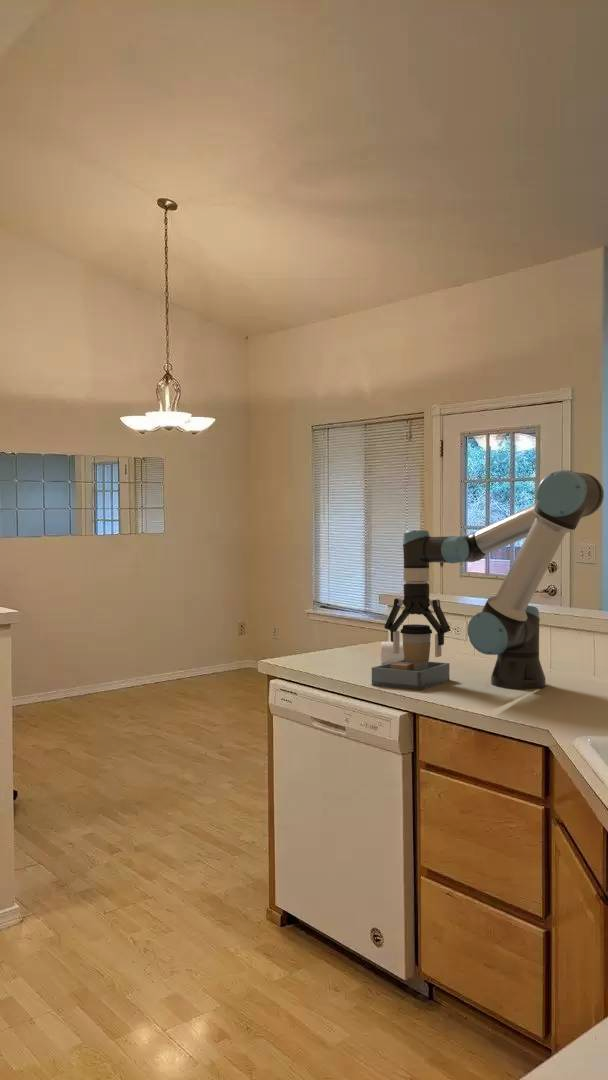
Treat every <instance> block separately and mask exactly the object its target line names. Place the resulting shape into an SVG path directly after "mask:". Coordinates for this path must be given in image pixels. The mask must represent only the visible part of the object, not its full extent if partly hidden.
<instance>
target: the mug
mask: <svg viewBox="0 0 608 1080" xmlns="http://www.w3.org/2000/svg"><path fill="white" fill-rule="evenodd" d="M403 659H404V651H403V641H400V653H397V654H393V642H391V641H382V642H381V646H380V665H383V664H387V663H391V662H395V661H399V660H403Z"/></svg>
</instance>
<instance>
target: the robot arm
mask: <svg viewBox="0 0 608 1080" xmlns="http://www.w3.org/2000/svg"><path fill="white" fill-rule="evenodd" d="M604 496H605V493H604V488H603V486H602V483H601V482H600V481H599V480H598V479H597V478H596V477H595V476H593V475H591V474H589V473H585V472H576V471H573V470H568V469H566V470H565V469H564V470H558V471H554V472H550V473H549V474H547V475H546V476H545V477H543V478H542V480H541V481H540V482H539V484H538V486H537V488H536V494H535V497H536V503H534V504H532V505H529V506H528V507H526V508H524V509H521V510H519V511H517V512H515V513H513V514H510V515H509V516H506V517H505V518H501V519H499V520H498V521H496V522H493V523H491V524H489V525H487V526H484V527H482V528H481V529H478V530H476V531H474V532H471V533H469V534H467V535H463V536H460V535H459V536H457V535H450V536H430V532H429V531H428V530H426V529H425V530H424V529H419V530H417V529H415V530H414V529H413V530H406V531H404V532H403V542H402V543H403V544H402V548H403V549H402V550H403V551H402V552H403V579H402V580H403V582H405V583H404V584H403V598H400V597H399V598H394V600H393V606H392V608H391V611H390V612H389V615H388V617H387V620H386V622H385V624H384V629H385V630H388V631H390V642H393V654H397V653H400V642H401V641H400V640H401V639H400V632H401V631H400V630H399V628H400V626H401V625H402V624H403V623H404V621H406V619H407V618H408V616H410V615H419V616H420V615H421V616H423V617H425V618H426V620H427V621H428V622H429V624H430V625H431V626H432V628H433V629H434V630H435V632H436V633H435V634H434V657H435V658H439V657H442V646H444V645H445V634H447V633H449V632H451V628H450V625H449V622H448V620H447V618H446V617H445V616H446V615H445V614H444V612H443V609H442V607H441V603H440V602H441V601H440V599H433V600H430V583H428V582H429V581H430V563H439V564H441V563H443V564H444V563H447V564H457V563H458V564H459V563H460V564H461V563H467V562H468V563H475V562H477V561H480V560H482V559H484V558H485V556H487V555H488V554H491V553H493V552H495V551H499V550H500V549H503V548H505V547H507V546H509V545H512V544H514V543H517V542H519V541H521V540H523V539H524V541H523V543H522V544H521V547H520V549H519V550H518V552H517V554H516V556H515V559H514V560H513V562H512V564H511V566H510V568H509V570H508V571H507V574H506V576H505V577H504V579H503V581H502V583H501V585H500V587H499V589H498V591H497V593H496V595H494V596H491V597H488V598H487V599H486V602H485V604H484V606H483V608H482V610H481V611H480V612H477V613H476V614H474V615H473V616H472V617H471V618H470V620H469V622H468V625H467V636H468V639H469V642H470V644H471V646H472V647H473V648H474V649H475V650H476V651H478V652H479V653H481V654H483V655H488V656H489V655H490V656H497V657H496V661H495V664H494V667H493V671H492V672H491V676H490V678H491V679H490V684H491V686H494V687H497V688H503V689H510V690H536V689H543V688H545V687H546V683H547V682H546V675H545V672H544V670H543V667H542V664H541V660H540V621H541V618H540V611H539V609H538V607H536V606H533V605H529V604H530V602H531V601H532V598H533V596H534V594H535V592H536V591H537V588H538V587H539V585H540V583H541V581H542V580H543V578H544V575H545V574H546V572H547V570H548V568H549V566H550V564H551V562H552V561H553V558H554V556H555V555H556V553H557V551H558V549H559V547H560V545H561V543H562V542H563V540H564V538H565V536H566V534H567V533H571V532H573V531H575V530H576V529H577V527H578V524H579V523H580V521H581V519H583V518H585V517H588V516H591V515H593V514H594V513H596V512H597V511H598V510H599V508H601V506H602V504H603V501H604ZM402 606H404V607H405V608H404V609H403V610H402V611H401V613H400V615H399V616H398V614H399V611H400V609H401V607H402ZM430 606H431V607H432V610H433V611H434V614H435V616H434V614H433V612H432V611H431V610H430V609H429V607H430ZM397 616H398V617H397ZM436 618H437V619H436Z"/></svg>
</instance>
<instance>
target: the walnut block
mask: <svg viewBox="0 0 608 1080" xmlns="http://www.w3.org/2000/svg"><path fill="white" fill-rule="evenodd" d="M391 669H397V670H407V671H414V663H404V662H397V663H393V664H391Z"/></svg>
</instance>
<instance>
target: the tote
mask: <svg viewBox="0 0 608 1080" xmlns="http://www.w3.org/2000/svg"><path fill="white" fill-rule="evenodd" d="M397 662H404V663H405V660H404V659H403V660H399V661H395V662H391V663H387V664H380V665H375V666H373V667H371V686H377V687H387V688H395V689H396V688H397V689H406V690H414V691H422V690H424V689H427V688H431V687H433V686H436V685H440V684H442V683H445V682H447V681H449V680H450V663H448V662H439V661H430V660H429V661H428V669H425V670H422V671H419V672H418V671H407V670H397V669H391V664H393V663H397Z"/></svg>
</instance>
